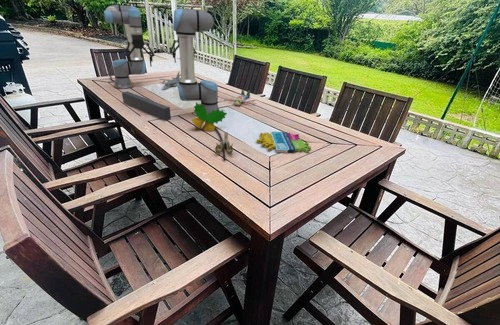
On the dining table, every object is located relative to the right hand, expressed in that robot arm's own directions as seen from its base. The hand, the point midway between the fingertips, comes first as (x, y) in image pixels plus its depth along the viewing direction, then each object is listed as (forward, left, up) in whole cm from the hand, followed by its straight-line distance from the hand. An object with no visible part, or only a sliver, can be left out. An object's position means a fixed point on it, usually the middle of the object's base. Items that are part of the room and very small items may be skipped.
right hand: (183, 62), depth 211 cm
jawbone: (-107, -13, -28) cm, 111 cm away
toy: (-18, -45, -28) cm, 56 cm away
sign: (-101, -48, -28) cm, 116 cm away
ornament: (-75, -10, -28) cm, 80 cm away
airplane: (+39, +9, -28) cm, 48 cm away
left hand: (-12, +31, -1) cm, 34 cm away
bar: (-36, +30, -28) cm, 54 cm away
